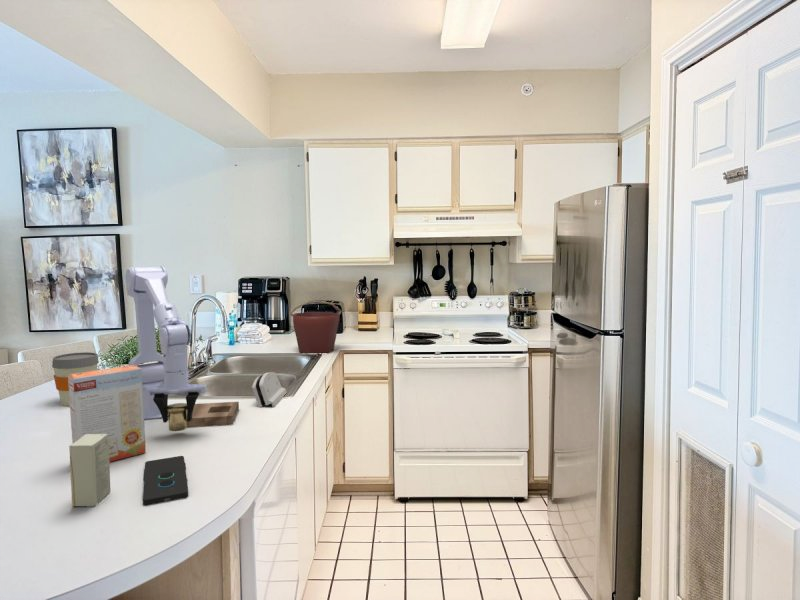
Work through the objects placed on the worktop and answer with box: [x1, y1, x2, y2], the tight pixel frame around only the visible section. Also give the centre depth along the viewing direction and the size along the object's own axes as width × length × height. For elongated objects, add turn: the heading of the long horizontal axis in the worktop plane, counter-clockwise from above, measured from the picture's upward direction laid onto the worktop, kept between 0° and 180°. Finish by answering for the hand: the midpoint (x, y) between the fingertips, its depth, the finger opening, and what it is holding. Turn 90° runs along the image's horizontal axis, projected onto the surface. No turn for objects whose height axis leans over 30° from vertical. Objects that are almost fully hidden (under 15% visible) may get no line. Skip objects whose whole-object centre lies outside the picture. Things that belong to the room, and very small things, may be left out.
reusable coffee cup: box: [51, 351, 99, 407], centre depth 161 cm, size 13×13×15 cm
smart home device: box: [142, 455, 189, 506], centre depth 105 cm, size 8×2×20 cm
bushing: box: [166, 402, 188, 432], centre depth 131 cm, size 5×5×6 cm
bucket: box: [290, 300, 343, 354], centre depth 246 cm, size 24×22×25 cm
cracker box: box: [68, 365, 147, 463], centre depth 116 cm, size 14×6×21 cm, turn 134°
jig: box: [186, 401, 240, 428], centre depth 145 cm, size 16×14×2 cm
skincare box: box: [68, 434, 112, 507], centre depth 96 cm, size 6×4×12 cm
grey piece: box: [251, 371, 288, 408], centre depth 164 cm, size 17×5×10 cm, turn 178°
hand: (177, 420), depth 131 cm, fingers closed on bushing, 5 cm apart
